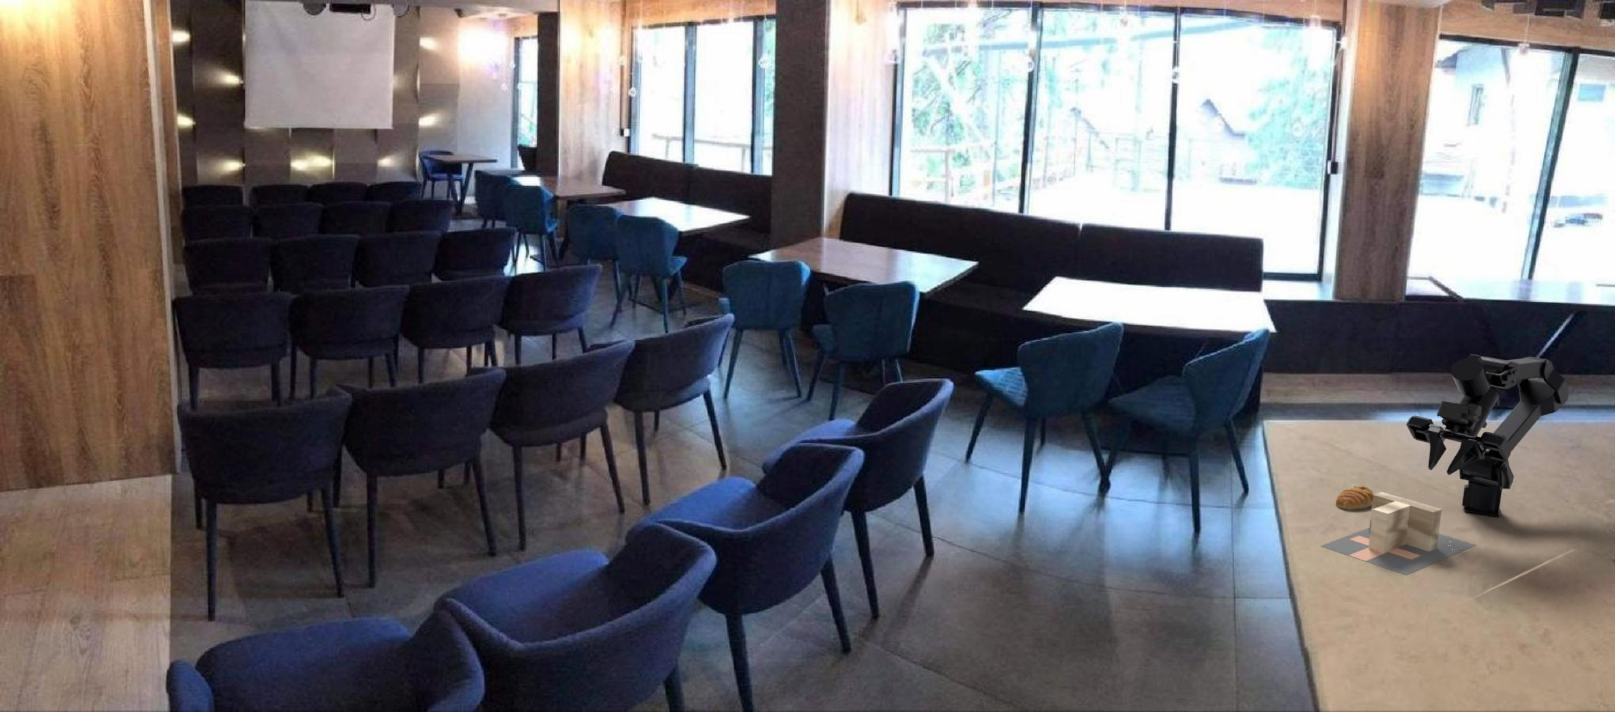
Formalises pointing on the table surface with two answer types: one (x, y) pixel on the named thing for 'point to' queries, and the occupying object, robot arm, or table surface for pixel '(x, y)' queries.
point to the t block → (1402, 524)
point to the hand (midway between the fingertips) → (1438, 471)
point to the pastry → (1355, 498)
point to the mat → (1397, 552)
